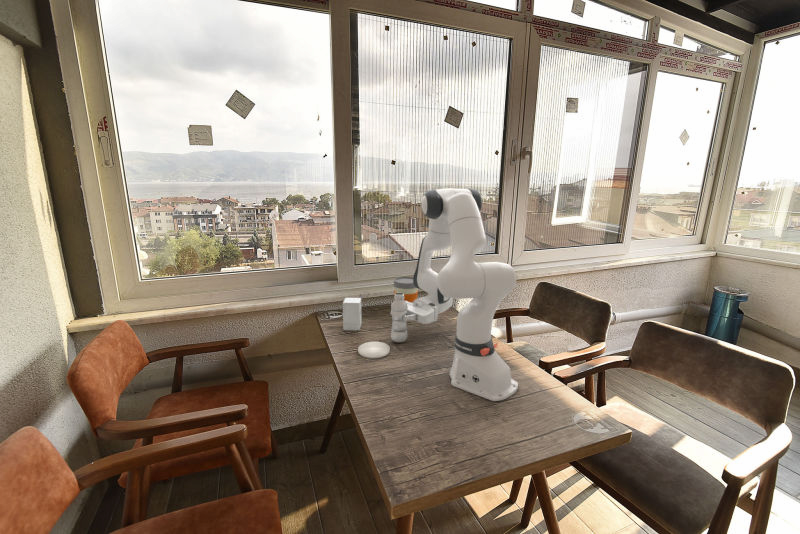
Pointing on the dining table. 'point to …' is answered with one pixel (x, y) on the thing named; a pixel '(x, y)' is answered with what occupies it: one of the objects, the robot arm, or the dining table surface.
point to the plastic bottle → (399, 318)
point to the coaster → (373, 349)
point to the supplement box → (352, 314)
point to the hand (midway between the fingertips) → (397, 316)
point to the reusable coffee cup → (406, 288)
